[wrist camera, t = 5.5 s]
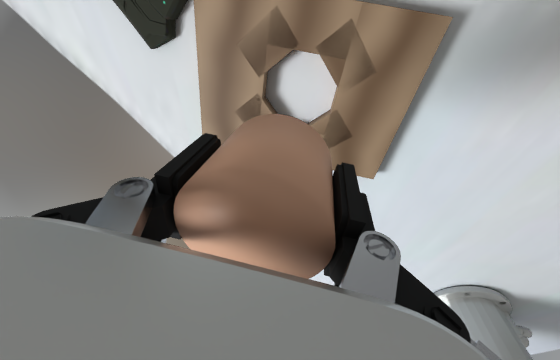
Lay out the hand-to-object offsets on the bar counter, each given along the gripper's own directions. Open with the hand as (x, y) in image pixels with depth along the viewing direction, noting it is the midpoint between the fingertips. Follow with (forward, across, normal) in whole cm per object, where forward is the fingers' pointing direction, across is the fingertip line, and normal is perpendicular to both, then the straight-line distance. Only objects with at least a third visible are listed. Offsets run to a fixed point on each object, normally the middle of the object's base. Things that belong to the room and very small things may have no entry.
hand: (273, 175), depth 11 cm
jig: (+16, 0, -1) cm, 16 cm away
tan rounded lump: (+1, 0, 0) cm, 1 cm away
